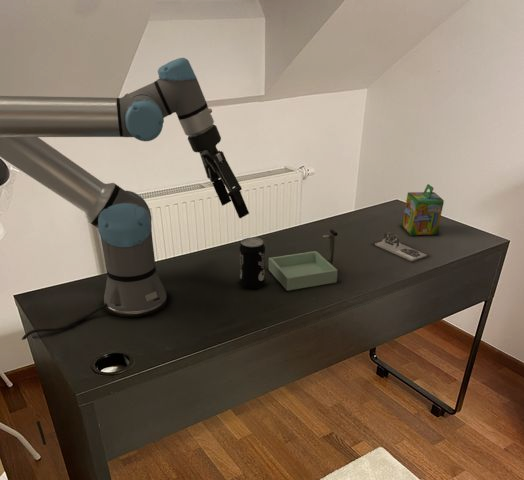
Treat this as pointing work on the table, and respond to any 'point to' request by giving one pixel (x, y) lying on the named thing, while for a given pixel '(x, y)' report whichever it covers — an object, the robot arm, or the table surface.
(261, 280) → the beverage can
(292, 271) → the sink
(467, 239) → the table surface
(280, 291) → the table surface
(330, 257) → the tap
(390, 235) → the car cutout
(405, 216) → the chalk box
